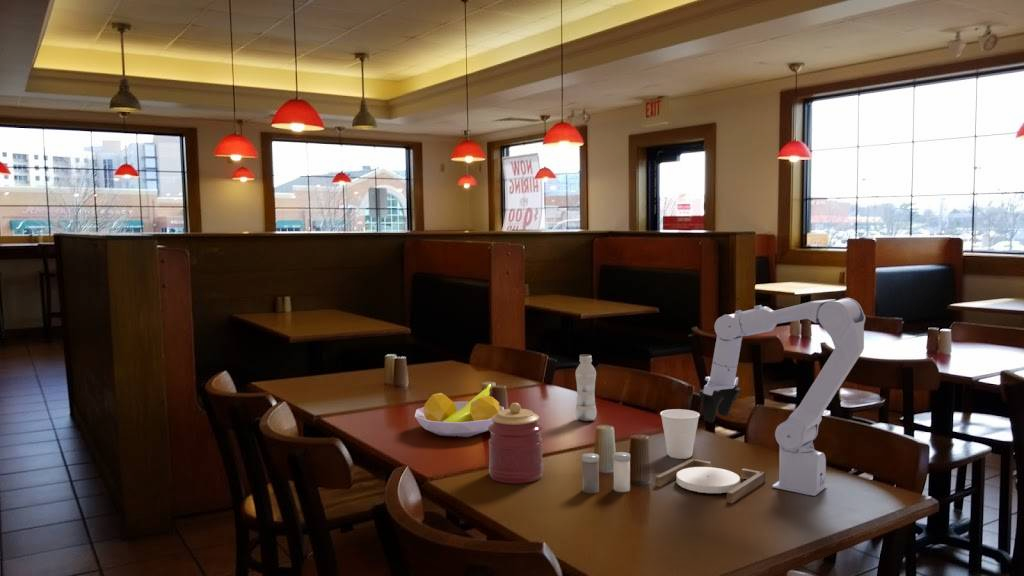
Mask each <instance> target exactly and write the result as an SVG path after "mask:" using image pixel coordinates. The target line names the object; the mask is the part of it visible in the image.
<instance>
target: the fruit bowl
mask: <svg viewBox="0 0 1024 576" xmlns="http://www.w3.org/2000/svg"><path fill="white" fill-rule="evenodd" d="M491 388H492V384H491V383H488V384H487V387H486V388H484V390H481V392H479V393H478V394H477V395H475V396H474V397H473V398H472V399H471V400H470V401H453V400H451V398H449V397H448V396H447V395H446V394H444V393H442V392H438V393H434V394H432V395H431V396H430V397H429V398H428V400H427V401H426V402H425V403H424V406H423V407H421V408H417V409H416V410H415V414H414V417H415V419H416V420H417V422H418V423H419V425H420V426H421V427H422V428H424V430H426V431H429V432H431V433H434V434H435V435H437V436H440V437H441V436H442V437H444V436H445V437H456V436H457V438H459V437H460V438H470V437H472V436H473V437H474V436H475V435H479V434H482V433H485V432H489V430H488V427H489V425H491V424H492V423H493V420H492V416H493V415H495V414H497V413H498V412H499V411H501V410H505V407H504V406H501V405H500V402H499V401H498V400H497V399H495V398H494V397H493V396H490V393H491V392H490V389H491Z"/></svg>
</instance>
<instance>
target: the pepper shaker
mask: <svg viewBox="0 0 1024 576" xmlns="http://www.w3.org/2000/svg"><path fill="white" fill-rule="evenodd" d="M581 460H582V492H583V493H586V494H592V495H593V494H597V493H599V492H600V487H599V486H600V480H599V479H600V478H599V477H600V473H599V472H600V464H599V463H600V455H599V454H597V453H593V452H592V453H591V452H590V453H589V452H587V453H583V454H581Z"/></svg>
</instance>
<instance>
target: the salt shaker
mask: <svg viewBox="0 0 1024 576" xmlns="http://www.w3.org/2000/svg"><path fill="white" fill-rule="evenodd" d="M612 459H613V491H615V492H617V493H627V492H630V491H631V453H629V452H627V451H626V452H625V451H618V452H617V451H615V452H614V453H613V455H612Z"/></svg>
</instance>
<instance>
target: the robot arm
mask: <svg viewBox="0 0 1024 576" xmlns="http://www.w3.org/2000/svg"><path fill="white" fill-rule="evenodd" d="M866 319H867V318H866V315H865V313H864V311H863V308H862V306H861V305H860V303H859V302H858V301H857V300H855V299H854V298H852V297H851V298H850V297H844V298H840V299H838V300H837V299H836V298H834V299H822V300H821V299H819V300H813V301H808V302H804V303H801V304H797V305H796V304H795V305H792V306H788V307H784V308H780V309H776V310H775V309H774V310H773V309H772V308H770V307H769V306H763V305H762V304H760V305H759V304H758V305H754V306H753V308H752V309H748V310H743V311H742V310H741V309H739V310H735V312H734V313H731V314H723V315H722V316H720V317H718V318H717V319H716V321H715V322H714V325H713V327H714V332H715V335H716V341H715V344H714V345H715V346H714V352H713V357H712V362H711V370H710V375H709V376H705V378H704V381H706V382H707V383H706V384H705V385H704V386H703V388H702V389H700V390H699V391H698V395H699V398H700V401H701V404H702V409H703V410H702V411H703V412H702V413H703V420H704V421H706V422H708V423H711V424H712V423H714V422H715V419H716V418H717V413H718V415H720V416H723V417H727V416H728V415H729V413H730V411H731V408H732V406H733V404H734V401H735V399H736V398H737V397H738V395H740V393H741V391H742V388H741V387H737V386H738V383H739V377H738V376H736V375H737V370H738V363H739V359H740V352H741V347H742V341H743V337H748V336H753V335H757V334H763V333H768V332H772V331H774V329H775V327H776V326H777V325H778V324H783V323H790V322H794V321H801V320H810V321H811V322H813V323H815V324H818V323H819V324H820V325H821V327H822V328H823V329H824V330H825V332H826V333H827V335H828V336H829V337H830V338H831V341H832V343H833V345H834V349H833V351H832V352H831V354H830V356H829V357H828V359H827V361H826V362H825V363H824V365H823V366H822V369H821V370H820V371H819V373H818V375H817V376H816V378H815V379H814V382H813V383H812V384H811V386H810V388H808V391H807V392H806V393H805V396H804V397H803V399H802V400H801V402H800V404H799V405H798V406H797V407H796V409H794V410H793V412H792V413H791V414H790V415H789V416H788V418H787V419H786V420H785V421H783V422H781V423H780V424H779V425H777V427H776V429H775V433H774V436H775V440H776V442H777V443H778V445H779V462H778V464H779V466H778V469H779V471H778V475H779V476H778V477H779V478H778V479H779V480H778V481H776V482H775V483H774V484H772V485H771V486H772V488H773V489H779V490H784V491H789V492H793V493H798V494H803V495H808V496H813V497H815V496H817V495H818V494H819V493H821V491H823V490H824V489H826V488H827V484H826V478H827V476H826V475H827V473H826V472H827V470H826V469H827V468H826V467H827V459H826V454H825V453H824V452H822V451H819V450H816V449H815V446H814V443H813V441H814V440H815V439H816V438H817V437H818V433H819V426H820V423H821V422H822V420H823V419H822V418H823V417H822V415H823V414H824V412H825V411H826V409H827V407H828V406H829V404H830V403H831V402H832V400H833V398H834V397H835V395H836V394H837V391H838V390H839V389H840V387H841V386H842V385H843V382H844V381H845V380H846V378H847V376H848V375H849V374H850V372H851V370H852V369H853V367H854V365H855V364H856V363H857V361H858V360H859V358H860V356H861V355H862V353H863V352H864V348H865V323H866Z"/></svg>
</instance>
